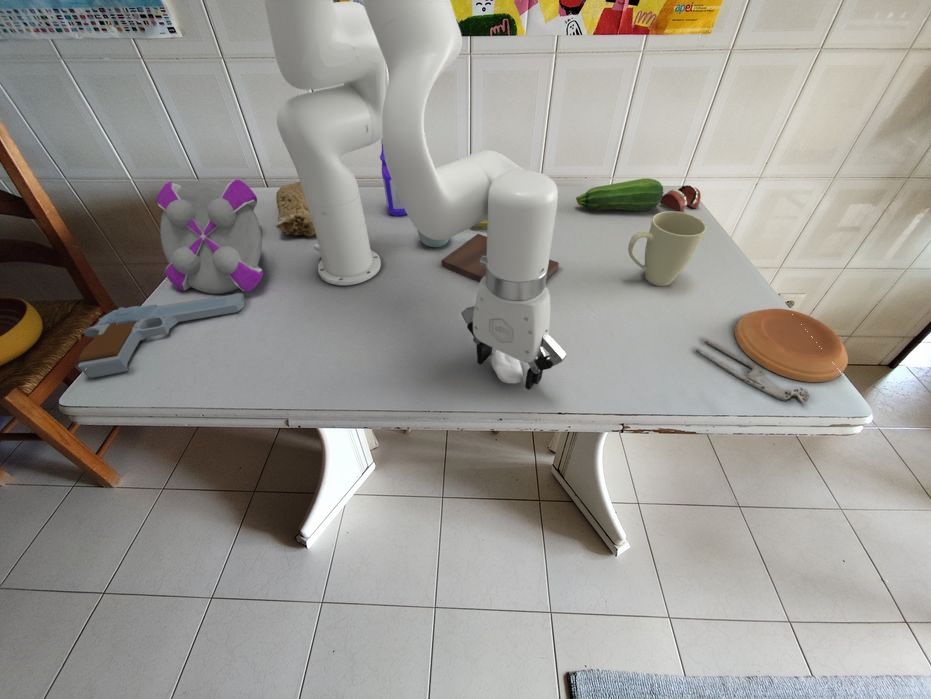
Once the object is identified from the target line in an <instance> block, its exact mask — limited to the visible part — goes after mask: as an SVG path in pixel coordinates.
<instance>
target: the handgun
mask: <svg viewBox="0 0 931 699" xmlns="http://www.w3.org/2000/svg"><path fill="white" fill-rule="evenodd" d="M244 307H245V296H244V293H242V292H241V293H240V292H235V293H234V294H227V295H222V296H216V297H215V296H214V297H209V298H203V299H196V300H190V301H182V302H176V303H169V304H161V305H157V304H152V305H142V306H141V305H134V306H129V307H123V306H120V307H118V309H114V310H111V311H110V312H108V313H107V314H104V315H103V317H99V318H98V322H97V323H96V324H95V325H92V326H90V327H88V328H86V329H84V330H83V331H82V333H83V335H84V336H85V337H86V338H92V340H91V341H90V342H89V343H88V344H87V345H86V346H84V347H83V349H82V350H81V352H80V354H79V357H78V359H77V362H78V365H77V367H78V368H79V370H81V371H82V373H83V374H84V375H85V376H86V377H89V378H90V379H92V378H98V377H103V376H109V375H114V374H119V373H125V372H129V369H128V362H129V361H130V359H131V357H132V355H133V354H134V351H135V350H136V348H137V346H138V345H139V343H140V341H144V340H145V339H146V338H151V337H156V336H161V335H169V333H170V329H171V328H173V327H174V326H175V325H176V324H178V323H180V322H187V321H192V320H198V319H203V318H210V317H216V316H221V315H229V314H233V313H238V312H239V311H241V310H242V309H243V308H244ZM91 362H92V363H91ZM86 368H87V369H86ZM85 369H86V370H85Z"/></svg>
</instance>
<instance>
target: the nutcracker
mask: <svg viewBox="0 0 931 699" xmlns="http://www.w3.org/2000/svg"><path fill="white" fill-rule="evenodd" d="M704 343H705V344H707V345H709V347H710V346H711V347H712V348H714V349H715V350H718V351H719V352H721V353H723V354H725V355H726V356H728V357H729V358H732V359H734V360H735V361H737V362H739V363H741V364H742V365H744V366H746V367H748V368H749V370H748V373H747V374H746V375H744V374H741V373H739V372H737V371H735V370H734V369H732V368H730V367H728V366H727V365H725V364H724V363H722V362H720V361H718V360H717V359H715V358H714V357H712V356H710V355H709V354H707V353H705V352H704V351H702V350H700V349H698V348H697V349H696V350H695V351H696V352H697V353H699V354H700V355H702V356H704V357H705V358H707V359H708V360H709V361H711V362H713V363H714V364H716V365H718V366H719V367H720V368H722V369H724V370H725V371H726V372H728V373H730V374H731V375H733V376H735V377H736V378H738V379H739V380H742V381H743V382H744V383H746V384H748V385H750V386H751V387H755V388H756V389H758V390H760V391H761V392H764V393H765V394H768V395H769V396H772V397H774V398H776V399H778V400H781V401H785V402H787V401H788V400H789V401H790V400H791V399H792V398H793V397H795V398H796V399H797V401H799V402H800V403H802V405H803V406H805V404H806V402H805V400H809V399H810V398H811V396H810V393H809V391H808V390H807V389H806V388H804V387H799V388H795V389H792V390H785V389H782V388H780V387H778V386H776V385H775V384H773V383H772V382H770V381H769V380H768V379H767V378H765V376H763V375H762V369H760V368H759V367H758V366H757V365H755V364H752V363H751V362H749V361H747V360H745V359H743V358H741V357H739V356H737V355H736V354H733V353H731V352H729V351H727V350H725V349H724V348H721V347H719V346H717V345H716V344H714V343H712V342H710V341H708V340H704ZM799 389H800V390H799Z"/></svg>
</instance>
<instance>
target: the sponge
mask: <svg viewBox="0 0 931 699" xmlns="http://www.w3.org/2000/svg"><path fill="white" fill-rule="evenodd" d="M275 200H276V207H277V209H278V212H279V216H278V217H277V222H276V228H277V229H279V231H281V232H284V234H285V235H287V236H288V235H291V236H302V235H304V236H307V237H312V236H314V235H316V233H315V229H314V226H313V222H312V219H311V215H310V212H309V209H308V205H307V202H306V199H305V196H304V192H303V189H302V186H301V183H300V181H295V182H294V183H290V184H284V185H282V186H281V187H279V189H278V190H277V191H276V195H275Z"/></svg>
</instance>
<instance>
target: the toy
mask: <svg viewBox="0 0 931 699" xmlns="http://www.w3.org/2000/svg"><path fill="white" fill-rule="evenodd" d="M156 202H157V206H158V207H159V208H161V209H162V210H163V211H162V215H161V220H160V230H159V231H160V241H161V247H162V250H163V254H164V256H165V258H166V260H167V262H168V265H167V266H165V271H164V272H165V274H164V275H165V276H166V278H167V279H168V281H169V282H170V283H171V284H172V285H173V286H174V287H175V288H176V289H178V290H180V291H183V292H184V291H187V290H189V289H191V288H193V289H195V290H197V291H200V292H203V293H207V294H211V295H214V294H215V295H216V294H217V295H218V294H227V293H230V292H233V291H235V290H237V289H240V290H241V291H242V292H250V291H252V290H254V289H255V287H256V286H257V285H258V284H259V283H260V282H261V280H262V278H263V276H264V272H263V269H262V268H261V267H260V266H259V262H260V260H261V254H262V248H263V239H262V228H261V229H260V226H261V224H260V222H259V219H258V217H257V214H256V213H255V211H254V210H255V208H256V205H257V204H258V197H257V195H256V194H255V193H254V191H253V190H252V188H251V187H249V186H248V184H246V183H245V182H244V181H243V180H241V179H232V180H231V181H230V182H229V183H228V184H226V183H224V182H222V181H219V180H213V179H197V180H193V181H190V182H188V183H186V184H184V185H180V184H177V183H176V182H174V181H168V182H167V183H165V184H163V186H162V188H161V189H160V190H159V193H158V194H157V196H156Z"/></svg>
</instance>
